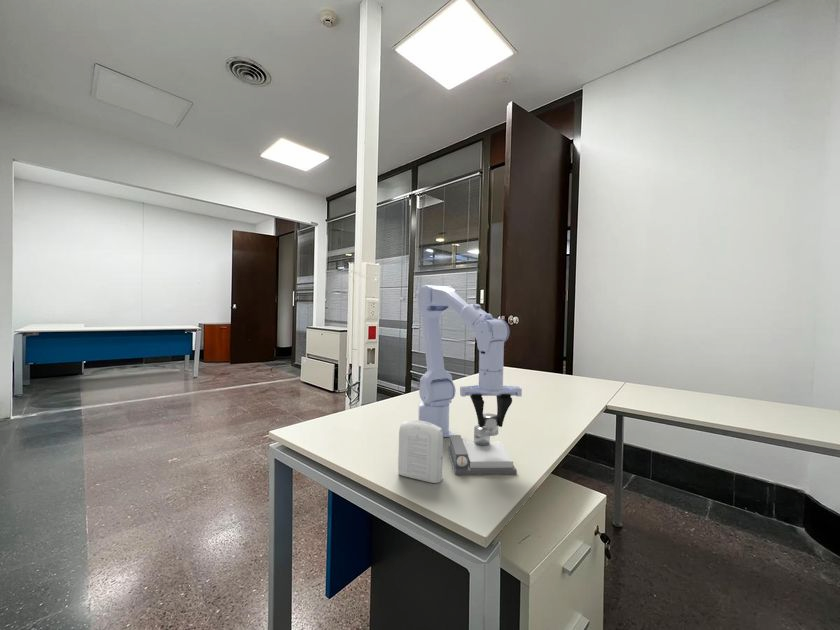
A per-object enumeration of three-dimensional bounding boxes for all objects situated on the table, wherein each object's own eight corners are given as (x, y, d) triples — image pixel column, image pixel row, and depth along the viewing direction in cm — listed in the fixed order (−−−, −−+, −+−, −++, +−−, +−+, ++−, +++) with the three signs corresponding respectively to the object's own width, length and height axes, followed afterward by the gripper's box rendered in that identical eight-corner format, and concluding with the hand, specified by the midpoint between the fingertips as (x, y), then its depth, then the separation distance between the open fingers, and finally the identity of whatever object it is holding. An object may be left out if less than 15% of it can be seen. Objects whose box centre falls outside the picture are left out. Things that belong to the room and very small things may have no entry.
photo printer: (445, 476, 73) (445, 421, 73) (439, 486, 69) (439, 428, 69) (403, 467, 77) (403, 415, 77) (395, 476, 73) (395, 421, 73)
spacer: (482, 435, 77) (482, 419, 77) (480, 429, 81) (480, 413, 81) (499, 436, 77) (499, 419, 77) (497, 429, 81) (496, 413, 81)
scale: (455, 474, 74) (455, 456, 74) (448, 449, 87) (448, 433, 87) (516, 474, 74) (516, 456, 74) (500, 448, 87) (500, 433, 87)
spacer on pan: (475, 446, 83) (476, 430, 83) (472, 439, 87) (472, 425, 87) (491, 446, 83) (491, 430, 83) (487, 439, 87) (487, 425, 87)
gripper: (464, 372, 74) (463, 431, 75) (526, 372, 75) (525, 431, 75) (458, 366, 81) (458, 420, 82) (516, 367, 82) (515, 420, 82)
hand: (490, 425), depth 79 cm, fingers closed on spacer, 4 cm apart
